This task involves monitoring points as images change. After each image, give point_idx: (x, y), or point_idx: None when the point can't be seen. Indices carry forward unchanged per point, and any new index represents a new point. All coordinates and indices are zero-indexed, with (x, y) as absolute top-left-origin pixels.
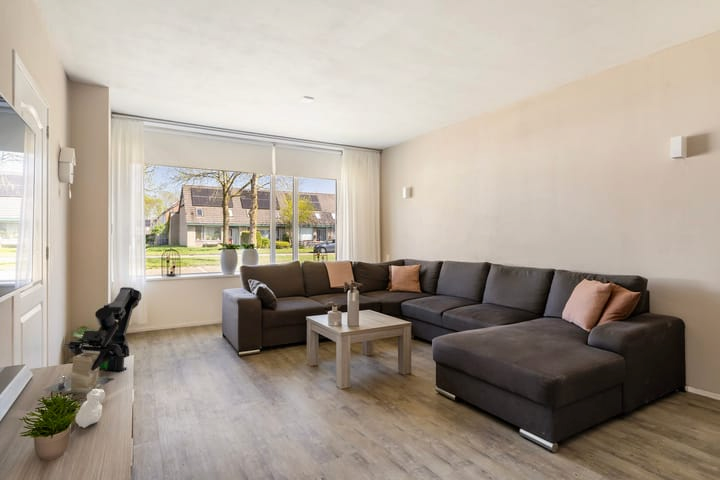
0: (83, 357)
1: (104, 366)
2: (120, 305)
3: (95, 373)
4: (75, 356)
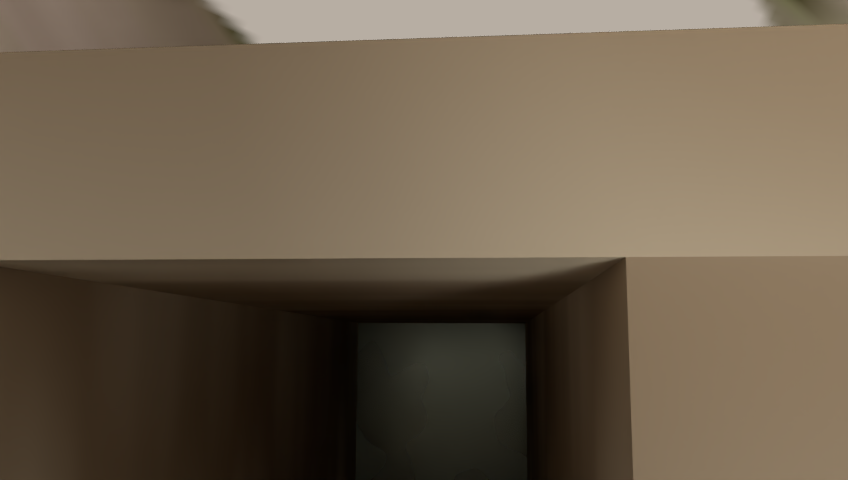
0: (150, 61)
1: None
2: None
3: None
4: (773, 110)
